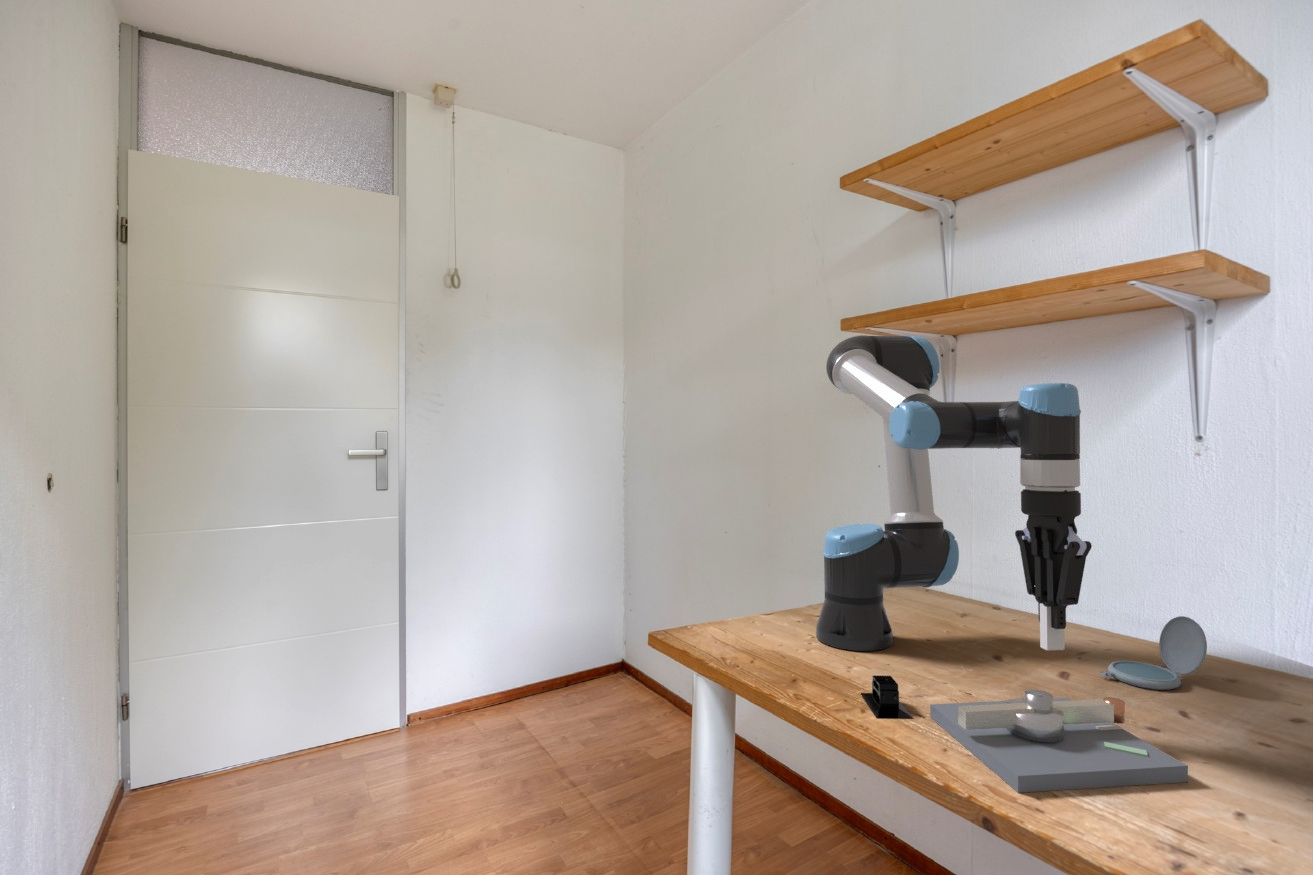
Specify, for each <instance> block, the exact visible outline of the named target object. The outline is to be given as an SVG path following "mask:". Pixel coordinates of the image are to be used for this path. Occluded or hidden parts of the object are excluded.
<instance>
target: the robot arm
mask: <svg viewBox="0 0 1313 875" xmlns="http://www.w3.org/2000/svg"><path fill="white" fill-rule="evenodd" d="M940 367H941V366H940V359H939V354H938V352H937V349H936V348H935V346H934V345H933V344H932V342H930V341H929V340H928V339H927V338H925V337H923V336H922V337H921V336H913V335H908V334H903V335H862V334H861V335H855V336H851V337H848V338H845V339H844V340H842V341H841V342H839V343H837V344H836V345H835V346H834V348H832V350H831V351H830V353H829V354H828V357H827V360H826V366H825V368H826V374H827V377H828V379H829V381H830V382H831V384H832V385H834V387H835V388H837V390H839V391H841V392H842V393H844V394H848V395H853V396H855V397H856V398H858V399H859V400H860V401H862V403H864V404H865V405H866V406H868V407H869V408H870V409H872V410H873V411H874V412H876V413H877V415H879V416H881V417H882V418H881V419H882V426H883V427H882V428H883V439H884V449H885V450H884V452H885V463H886V471H887V473H886V474H887V482H888V496H889V506H890V507H889V508H890V516H889V517H888V518H887V519H886V520H885V521H884V522H883V524H884V529H883V527H882V526H881V525H878V524H873V523H862V524H860V523H857V524H847V525H843V526H837V527H834V528H832V529H831V530H829V531H827V533H826V534H825V537H824V545H823V546H824V547H823V552H822V553H823V559H824V560H823V563H824V565H823V566H824V569H823V570H824V571H823V572H824V576H823V577H824V581H823V582H824V601H823V604H822V608H821V610H820V613H819V616H818V619H817V623H816V626H815V632H816V633H815V634H816V635H815V637H816V639H817V640H818V641H819V642H821V643H823V644H825V645H827V646H829V645H830V647H832V648H835V649H837V648H838V649H840V650H841V649H842V650H846V649H847V650H848V651H855V652H857V651H858V652H871V651H872V652H873V651H881V650H884V649H887V648H889V647H891V646H892V645H893V641H894V640H893V634H894V633H893V630H892V625H891V623H890V620H889V617H888V615H887V612H886V608H885V604H884V589H896V588H897V589H899V588H927V589H928V588H930V587H937V586H938V587H939V586H943V585H946V584H948V583H949V582H951V580H952V579H953V577H954V576H955V574H956V572H957V570H958V566H959V560H960V550H959V544H958V540H956V539H955V538H956V536H955V535H954V534H953V533H952V531H949V530H947V529H945V527H944V526H945V525H944V520H943V519H941V518H940V517H939V516H938V515H937V514H936V513H935V508H934V506H935V505H934V496H933V487H932V486H933V485H932V476H931V467H930V466H931V465H930V457H929V450H931V449H932V450H934V449H935V450H936V449H998V450H999V449H1013V448H1014V449H1015V448H1016V449H1019V448H1020V456H1019V457H1020V458H1019V462H1020V464H1019V465H1020V470H1019V471H1020V473H1019V474H1020V478H1019V479H1020V483H1019V484H1020V485H1021V486H1023V487H1025V488H1023V489H1022V491H1020V509H1021V513H1023V514H1024V515H1027V521H1026V525H1025V526H1026V527H1025V528H1023V529H1017V530H1015V532H1014V534H1015V538H1016V540H1017V543H1018V545H1019V549H1020V550H1019V551H1020V556H1021V564H1022V568H1023V574H1024V581H1025V587H1026V591H1027V592H1026V593H1027V594H1028V595H1029V596H1033V597H1034V598H1035V600H1036V602H1037V604H1038V605H1037V606H1038V608H1037V610H1038V622H1039V640H1040V641H1039V646H1040V648H1041V649H1043V650H1045V651H1065V646H1066V644H1065V642H1066V641H1065V637H1066V636H1065V630H1066V628H1067V607H1068V606H1075V605H1078V604H1079V601H1080V600H1079V599H1080V593H1081V588H1082V583H1083V578H1084V571H1085V565H1086V559H1087V556H1088V554H1089V553H1090V552H1091V549H1092V546H1093V544H1092V543H1091V541H1087V540H1084V541H1083V539H1082V538H1080V536H1078V535H1077V534H1078V528H1077V526H1076V523H1075V519H1076V517H1079V516H1080V515H1081V513H1082V507H1081V506H1082V505H1081V504H1082V499H1081V497H1082V493H1080V491H1079V490H1077V489H1076V488H1078V487H1080V486H1081V466H1080V465H1081V464H1080V463H1081V461H1080V459H1081V427H1080V426H1081V413H1082V410H1081V408H1080V398H1079V390H1078V387H1077V386H1076V385H1074V384H1072V383H1065V382H1063V383H1062V382H1061V383H1060V382H1059V383H1057V382H1056V383H1055V382H1054V383H1036V384H1028V385H1024V386H1022V387H1021V388H1020V390H1019V397H1018V400H1013V401H1011V400H1010V401H968V402H967V401H964V402H963V401H939V400H937V399H935V398H933V397H932V396H930V395H931V388H933V387H934V386H935V385H936V384H937V381H938V379H939V375H938V374H939V373H940V369H941V368H940Z"/></svg>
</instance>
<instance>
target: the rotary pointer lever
mask: <svg viewBox="0 0 1313 875" xmlns="http://www.w3.org/2000/svg"><path fill="white" fill-rule="evenodd" d="M1024 692H1025V693H1024V694H1025V695H1024V698H1023V697H1022V698H1021V697H1020V698H1019V697H1018V698H1017V697H1015V698H1009V699H1007V700H1004V701H1005V702H1004V704H992V705H972V706H958V724H959V725H960V726H962V727H963V728H964V729H965V730H974V729H993V728H1006V729H1007V730H1009V731H1010V732H1011V733H1013V734H1015V735H1017V736H1020V737H1023V738H1026V739H1029V740H1034V741H1040V742H1057V741H1060V740H1062V739H1063V738H1064V725H1068V724H1086V723H1105V722H1111V723H1113V724H1125V722H1126V715H1125V714H1126V705H1125V704H1126V702H1125V701H1124V700H1123V699H1120V698H1116V697H1112V696H1105V697H1103V698H1095V699H1094V698H1093V699H1077V700H1075V699H1074V700H1072V699H1071V700H1072V701H1053V694H1051V693H1050V692H1047V691H1045V690H1040V689H1034V688H1033V689H1026V690H1025V691H1024Z"/></svg>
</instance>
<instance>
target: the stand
mask: <svg viewBox="0 0 1313 875" xmlns="http://www.w3.org/2000/svg"><path fill="white" fill-rule="evenodd" d="M1005 701H1006V700H994V701H992V700H991V701H976V702H975V701H973V702H971V701H970V702H954V703H935V704H934V703H933V704H932V703H931V704H930V707H929V708H930V712H929V713H930V719H931V720H933V721H934V722H935V723H936V724H937V725H939V727H941V729H943V730H945V732H947V733H948V734H949V735H950V736H951V737H952V738H954V739H955V740H956V741H957V742H958V743H960V745H962V747H964V748H965V749H966V750H967V751H969V752H970V753H971V754H972V755H973V756H975V757H976V759H978V760H979V761H981V762H982V763H983V765H985V766H986V767H988V768H989V769H990V771H992V772H993V773H994V774H996V776H998V777H999V778H1000V779H1001V780H1003V781H1004V782H1005V783H1006V784H1007V785H1009V786H1010V787H1011V788H1012V789H1013V790H1014V791H1015V792H1017V794H1020V793H1021V794H1022V793H1035V792H1048V791H1049V792H1051V791H1067V790H1068V791H1069V790H1082V789H1083V790H1084V789H1098V788H1099V789H1100V788H1115V787H1130V786H1144V785H1145V786H1147V785H1163V784H1178V783H1179V784H1180V783H1189V766H1188V764H1186V763H1184V762H1182V761H1180V760H1178V759H1176V758H1175V757H1173V756H1172V755H1169V754H1168V753H1166V752H1165V751H1163V750H1161V749H1159V748H1158V747H1155V746H1154V745H1152V744H1150V743H1148V742H1147V741H1145V740H1143V739H1142V738H1140V737H1137V736H1136V735H1134V734H1132V733H1131V732H1129V731H1127V730H1126V729H1124V728H1123V727H1122V726H1120V725H1119V724H1116V723H1113V722H1105V723H1086V724H1068V725H1064V738H1063V739H1062V740H1060V741H1057V742H1040V741H1034V740H1029V739H1026V738H1023V737H1020V736H1017V735H1015V734H1013V733H1011V732H1010V731H1009V730H1007V729H1006V728H993V729H974V730H965V729H964V728H963V727H962V726H960V725H959V724H958V706H972V705H992V704H1004V702H1005ZM1053 701H1072V699H1070V698H1068V697H1056V698H1055V697H1054V698H1053Z"/></svg>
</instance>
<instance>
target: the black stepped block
mask: <svg viewBox="0 0 1313 875" xmlns="http://www.w3.org/2000/svg"><path fill="white" fill-rule="evenodd" d="M860 693H861V694H860V696H861V695H862V696H861V698H862V699H863V701H864V702H865V703H866V704H867V707H868V708H869V710H870V711H871V712H872V714H873V716H874V717H875V718H876V719H881V720H883V719H884V720H885V719H887V720H888V719H889V720H914V717H913V716H912V715H911V713H910V711H908V710H907V708H906V707H905V706H904V704H903V703H902V702H901V701H900V691H899V684H898V683H897V682H896V680H895V679H894V678H893V677H892V676H891V675H872V681H871V692H860ZM899 701H900V702H899Z"/></svg>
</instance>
